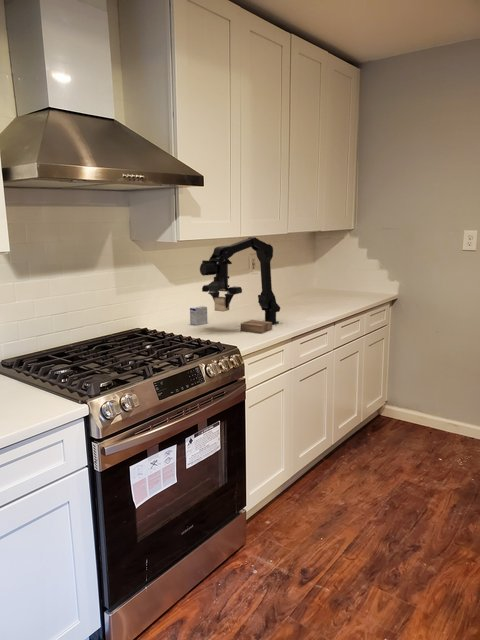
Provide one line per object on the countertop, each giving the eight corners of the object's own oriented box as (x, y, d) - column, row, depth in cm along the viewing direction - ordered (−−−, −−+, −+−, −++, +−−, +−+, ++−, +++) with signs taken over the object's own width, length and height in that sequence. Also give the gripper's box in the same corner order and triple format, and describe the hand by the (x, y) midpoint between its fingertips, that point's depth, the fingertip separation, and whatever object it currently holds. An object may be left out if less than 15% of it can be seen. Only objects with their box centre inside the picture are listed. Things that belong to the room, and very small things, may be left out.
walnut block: (252, 327, 248) (252, 319, 248) (272, 330, 243) (272, 322, 242) (240, 332, 239) (240, 323, 238) (260, 334, 234) (261, 326, 233)
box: (201, 322, 260) (201, 305, 258) (207, 323, 257) (207, 306, 255) (189, 324, 254) (189, 307, 253) (195, 325, 251) (195, 308, 250)
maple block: (220, 309, 242) (220, 296, 241) (229, 310, 240) (229, 297, 239) (214, 310, 238) (214, 297, 237) (223, 311, 236) (223, 298, 235)
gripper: (195, 274, 234) (195, 308, 237) (230, 277, 224) (230, 312, 227) (208, 272, 243) (208, 305, 246) (242, 274, 234) (242, 308, 237)
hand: (221, 307), depth 239 cm, fingers closed on maple block, 5 cm apart
